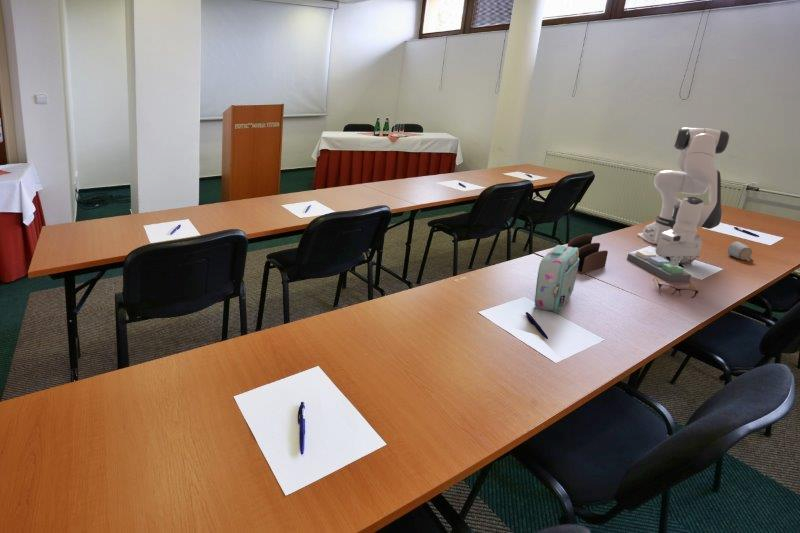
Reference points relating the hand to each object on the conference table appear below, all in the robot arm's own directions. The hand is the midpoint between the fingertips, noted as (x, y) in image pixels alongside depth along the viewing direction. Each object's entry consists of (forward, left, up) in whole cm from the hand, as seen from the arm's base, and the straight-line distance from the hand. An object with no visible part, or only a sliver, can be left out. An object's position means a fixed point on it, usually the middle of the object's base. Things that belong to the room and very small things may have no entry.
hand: (673, 265), depth 205 cm
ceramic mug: (-22, +62, -6) cm, 66 cm away
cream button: (-17, 0, -4) cm, 18 cm away
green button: (0, 0, -4) cm, 4 cm away
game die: (-15, +21, -6) cm, 26 cm away
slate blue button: (-9, 0, -4) cm, 9 cm away
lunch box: (+20, -70, -6) cm, 73 cm away
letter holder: (-14, -35, -6) cm, 38 cm away
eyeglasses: (+13, -9, -6) cm, 17 cm away
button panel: (-9, 0, -6) cm, 10 cm away
